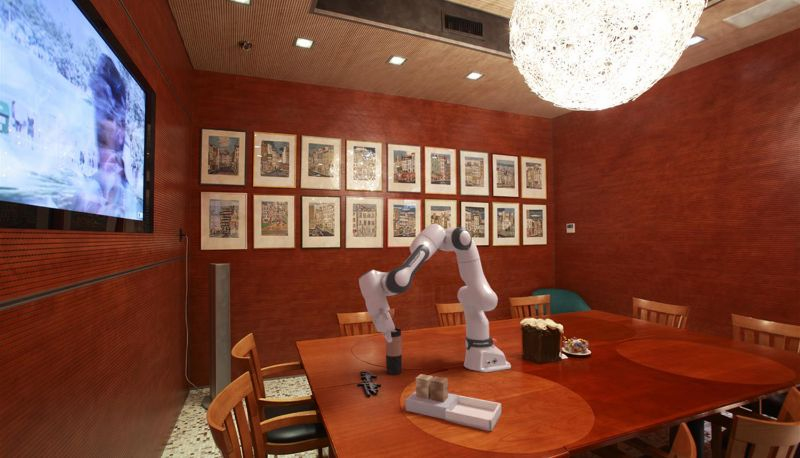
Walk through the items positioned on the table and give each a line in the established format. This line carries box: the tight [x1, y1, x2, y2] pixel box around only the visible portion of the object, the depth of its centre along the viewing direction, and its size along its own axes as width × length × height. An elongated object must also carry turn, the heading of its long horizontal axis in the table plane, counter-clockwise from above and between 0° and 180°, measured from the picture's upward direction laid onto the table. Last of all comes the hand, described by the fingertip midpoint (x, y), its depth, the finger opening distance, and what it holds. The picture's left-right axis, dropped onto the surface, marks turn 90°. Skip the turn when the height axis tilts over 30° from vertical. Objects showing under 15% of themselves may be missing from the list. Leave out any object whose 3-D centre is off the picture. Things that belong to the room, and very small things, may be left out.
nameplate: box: [357, 370, 382, 399], centre depth 163 cm, size 27×2×10 cm
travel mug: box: [385, 327, 403, 376], centre depth 177 cm, size 8×8×20 cm
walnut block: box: [430, 376, 449, 402], centre depth 137 cm, size 5×4×7 cm
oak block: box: [415, 373, 434, 399], centre depth 140 cm, size 5×4×7 cm
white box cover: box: [405, 390, 459, 420], centre depth 138 cm, size 16×12×4 cm
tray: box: [444, 394, 503, 432], centre depth 131 cm, size 16×14×4 cm
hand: (389, 341), depth 150 cm, fingers closed
